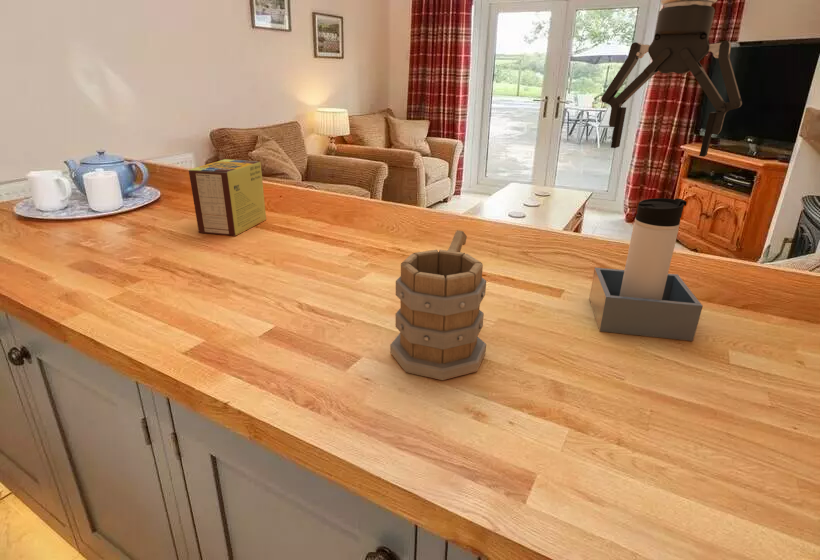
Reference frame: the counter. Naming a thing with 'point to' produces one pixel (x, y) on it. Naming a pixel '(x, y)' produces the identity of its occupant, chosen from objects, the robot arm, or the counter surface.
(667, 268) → the travel mug
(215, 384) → the counter surface
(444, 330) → the tankard
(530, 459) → the counter surface
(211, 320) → the counter surface
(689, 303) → the holder
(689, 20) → the robot arm
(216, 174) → the protein box
